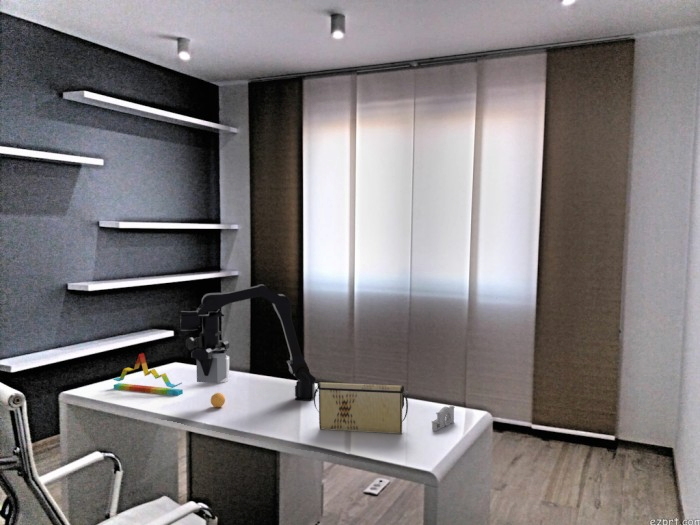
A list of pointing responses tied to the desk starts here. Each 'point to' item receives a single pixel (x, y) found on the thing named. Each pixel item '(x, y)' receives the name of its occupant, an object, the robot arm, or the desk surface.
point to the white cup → (226, 370)
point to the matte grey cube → (213, 369)
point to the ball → (217, 400)
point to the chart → (147, 388)
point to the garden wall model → (443, 418)
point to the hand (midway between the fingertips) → (211, 373)
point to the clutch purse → (361, 407)
